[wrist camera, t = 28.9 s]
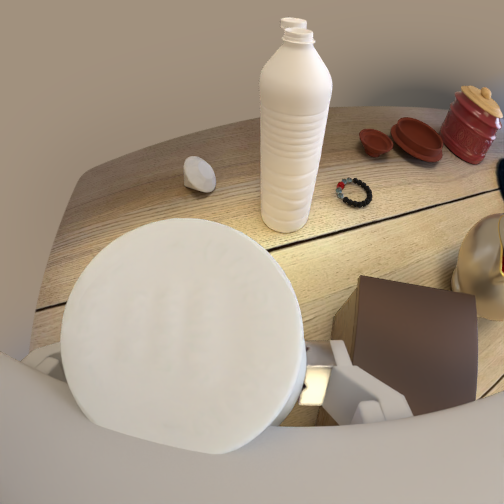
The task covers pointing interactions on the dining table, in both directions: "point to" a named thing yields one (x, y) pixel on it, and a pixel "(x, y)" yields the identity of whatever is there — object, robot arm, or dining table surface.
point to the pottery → (405, 140)
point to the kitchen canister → (471, 124)
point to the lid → (417, 342)
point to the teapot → (483, 267)
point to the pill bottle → (184, 337)
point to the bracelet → (349, 201)
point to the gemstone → (198, 175)
